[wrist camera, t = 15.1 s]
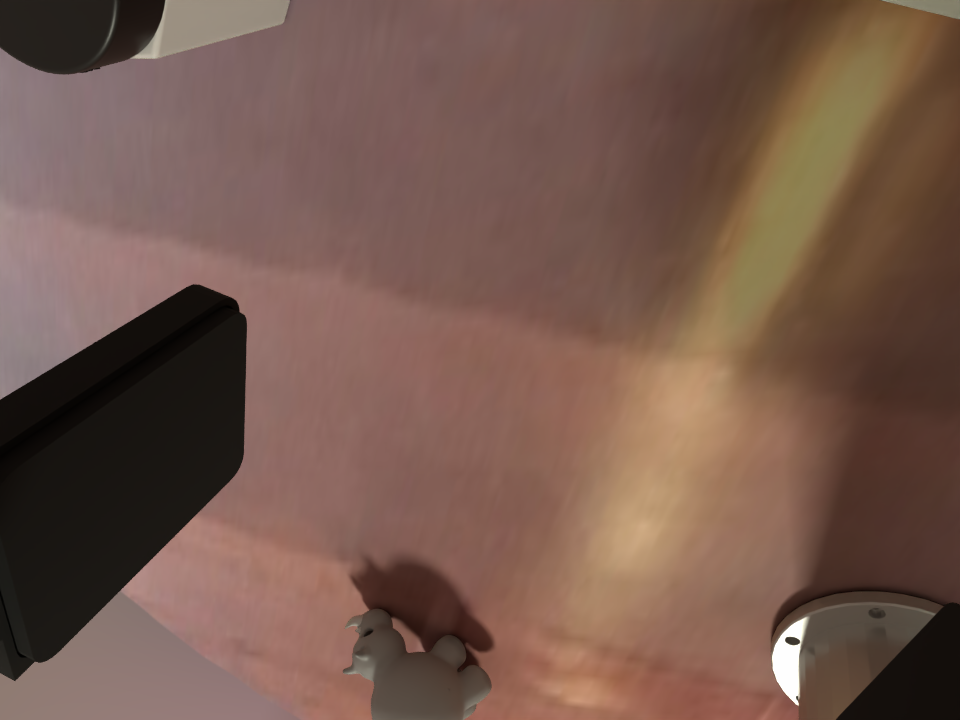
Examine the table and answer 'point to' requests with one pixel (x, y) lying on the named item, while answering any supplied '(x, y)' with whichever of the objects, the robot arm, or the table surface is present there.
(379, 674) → the toy rhinoceros
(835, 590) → the table surface
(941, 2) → the screen
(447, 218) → the table surface
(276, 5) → the jar
